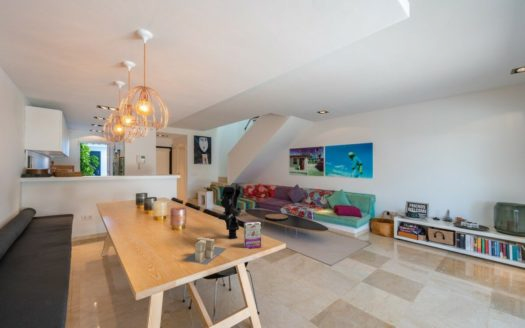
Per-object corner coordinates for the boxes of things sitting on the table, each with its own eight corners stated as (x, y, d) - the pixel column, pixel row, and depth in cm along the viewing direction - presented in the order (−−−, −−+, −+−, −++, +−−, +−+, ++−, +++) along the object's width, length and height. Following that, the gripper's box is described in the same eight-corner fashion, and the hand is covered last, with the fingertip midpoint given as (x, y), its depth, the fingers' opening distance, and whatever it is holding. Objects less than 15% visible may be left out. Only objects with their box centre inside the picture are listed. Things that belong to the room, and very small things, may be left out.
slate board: (205, 246, 144) (206, 245, 144) (227, 249, 139) (227, 248, 139) (182, 261, 121) (182, 260, 121) (206, 265, 116) (206, 264, 116)
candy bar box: (259, 245, 148) (259, 221, 148) (261, 247, 143) (261, 223, 143) (243, 246, 145) (243, 222, 145) (244, 249, 140) (245, 224, 140)
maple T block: (199, 253, 130) (199, 237, 130) (213, 256, 127) (214, 239, 127) (190, 259, 122) (190, 242, 122) (205, 262, 119) (205, 244, 119)
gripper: (233, 207, 138) (233, 231, 137) (244, 203, 155) (244, 224, 155) (218, 206, 141) (217, 230, 141) (230, 202, 159) (230, 222, 159)
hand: (228, 226), depth 149 cm, fingers closed
